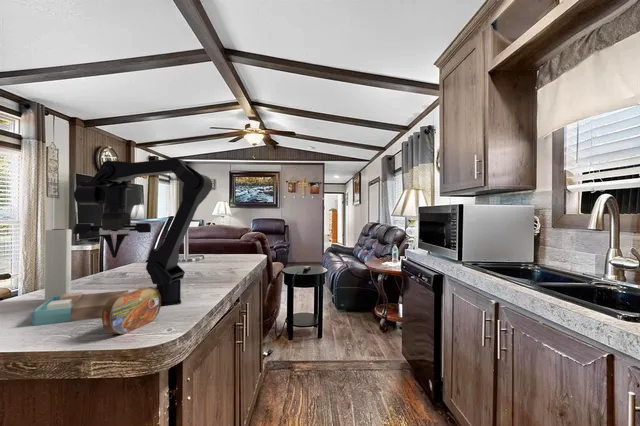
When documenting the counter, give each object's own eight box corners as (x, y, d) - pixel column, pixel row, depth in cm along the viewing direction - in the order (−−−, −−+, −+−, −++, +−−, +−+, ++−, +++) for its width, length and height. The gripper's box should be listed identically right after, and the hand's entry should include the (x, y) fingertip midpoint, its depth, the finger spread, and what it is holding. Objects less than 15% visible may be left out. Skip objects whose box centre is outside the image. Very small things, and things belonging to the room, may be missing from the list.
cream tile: (71, 307, 81) (71, 299, 81) (68, 311, 78) (68, 302, 78) (51, 309, 79) (51, 301, 79) (46, 313, 76) (47, 305, 76)
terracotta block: (81, 299, 89) (81, 292, 89) (78, 302, 85) (79, 295, 85) (63, 301, 87) (63, 293, 87) (60, 304, 83) (60, 297, 83)
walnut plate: (128, 300, 96) (128, 290, 96) (124, 314, 81) (124, 302, 81) (83, 305, 90) (83, 294, 90) (70, 321, 76) (70, 308, 76)
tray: (83, 305, 90) (83, 293, 90) (70, 321, 76) (70, 307, 76) (51, 308, 87) (51, 296, 87) (32, 325, 73) (32, 311, 73)
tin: (111, 340, 65) (111, 298, 65) (98, 339, 65) (98, 297, 65) (162, 317, 79) (162, 283, 80) (151, 316, 80) (151, 283, 80)
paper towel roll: (49, 299, 97) (50, 228, 97) (73, 297, 99) (74, 228, 99) (39, 305, 90) (40, 229, 90) (65, 303, 92) (66, 229, 93)
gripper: (69, 202, 82) (68, 263, 82) (150, 204, 91) (150, 259, 91) (77, 204, 92) (77, 258, 92) (151, 205, 101) (150, 254, 101)
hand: (114, 257), depth 94 cm, fingers closed
